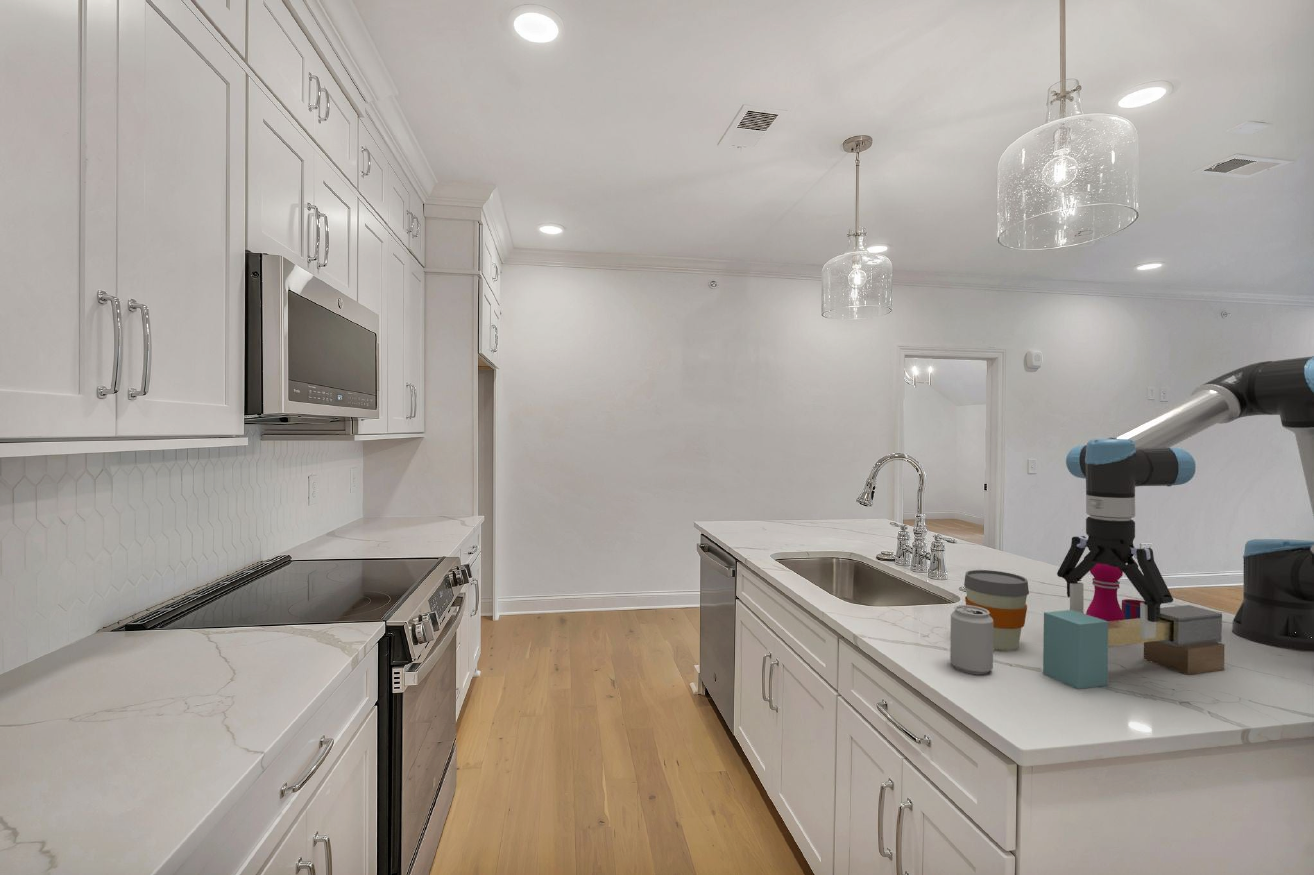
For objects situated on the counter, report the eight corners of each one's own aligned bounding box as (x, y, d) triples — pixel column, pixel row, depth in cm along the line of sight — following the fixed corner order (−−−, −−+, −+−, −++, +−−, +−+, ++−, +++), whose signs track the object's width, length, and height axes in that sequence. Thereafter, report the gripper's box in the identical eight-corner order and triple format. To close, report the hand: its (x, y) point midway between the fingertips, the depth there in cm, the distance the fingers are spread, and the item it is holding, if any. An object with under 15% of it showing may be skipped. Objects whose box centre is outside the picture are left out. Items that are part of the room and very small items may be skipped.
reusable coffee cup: (1038, 656, 120) (1039, 585, 120) (973, 650, 123) (974, 581, 123) (1014, 635, 132) (1015, 571, 132) (956, 630, 135) (957, 568, 135)
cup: (1133, 625, 140) (1133, 597, 140) (1181, 639, 130) (1182, 610, 130) (1114, 628, 138) (1114, 600, 138) (1162, 643, 128) (1162, 613, 128)
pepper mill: (1110, 633, 134) (1112, 549, 134) (1133, 645, 127) (1134, 555, 126) (1078, 632, 135) (1079, 548, 134) (1098, 643, 127) (1100, 555, 127)
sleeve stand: (1182, 653, 122) (1182, 603, 122) (1227, 669, 114) (1228, 615, 114) (1140, 659, 119) (1140, 607, 119) (1183, 675, 111) (1184, 619, 111)
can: (992, 679, 109) (993, 617, 109) (948, 670, 113) (949, 610, 113) (993, 665, 115) (994, 606, 115) (951, 657, 119) (952, 600, 119)
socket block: (1070, 669, 114) (1071, 609, 113) (1107, 685, 107) (1108, 621, 106) (1043, 672, 112) (1043, 612, 112) (1078, 689, 105) (1079, 624, 105)
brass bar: (1169, 631, 118) (1170, 614, 118) (1188, 637, 114) (1189, 620, 114) (1063, 643, 111) (1064, 626, 111) (1080, 649, 107) (1081, 632, 107)
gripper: (1037, 509, 122) (1037, 607, 122) (1167, 529, 98) (1167, 651, 98) (1064, 508, 124) (1065, 604, 124) (1198, 526, 100) (1199, 646, 100)
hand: (1110, 625), depth 111 cm, fingers open, 13 cm apart
